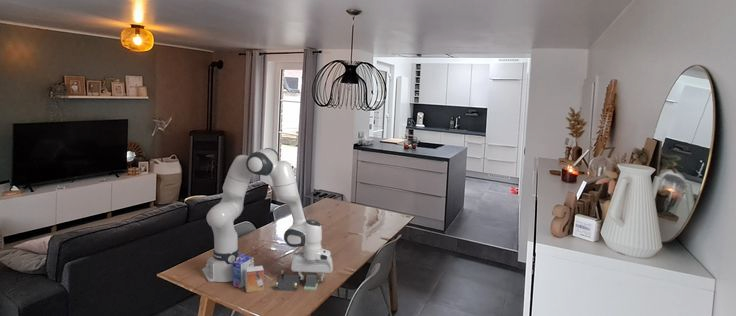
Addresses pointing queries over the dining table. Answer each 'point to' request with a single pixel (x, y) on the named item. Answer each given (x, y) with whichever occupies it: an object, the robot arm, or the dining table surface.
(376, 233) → the dining table surface
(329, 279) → the dining table surface
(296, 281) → the chassis plate
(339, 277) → the dining table surface
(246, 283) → the small box
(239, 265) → the ink cartridge box
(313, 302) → the dining table surface
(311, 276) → the circuit board
